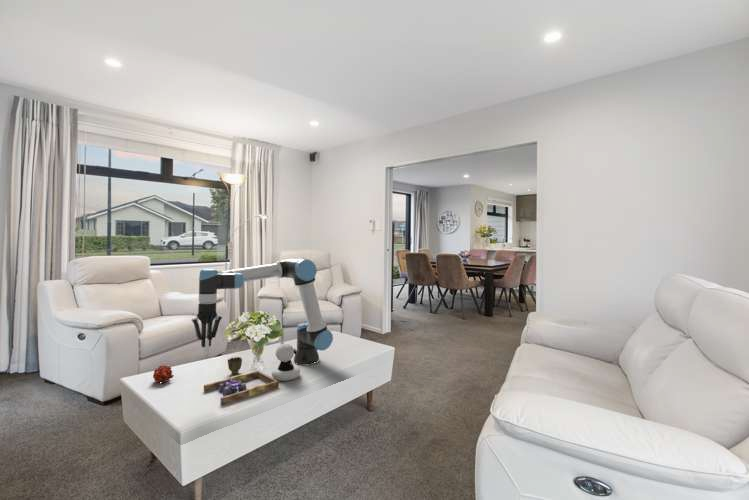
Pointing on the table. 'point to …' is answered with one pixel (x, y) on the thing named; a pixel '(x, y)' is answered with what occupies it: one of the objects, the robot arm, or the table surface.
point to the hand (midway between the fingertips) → (205, 353)
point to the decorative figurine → (285, 363)
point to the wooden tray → (246, 393)
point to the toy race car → (232, 387)
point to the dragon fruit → (162, 374)
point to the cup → (234, 364)
